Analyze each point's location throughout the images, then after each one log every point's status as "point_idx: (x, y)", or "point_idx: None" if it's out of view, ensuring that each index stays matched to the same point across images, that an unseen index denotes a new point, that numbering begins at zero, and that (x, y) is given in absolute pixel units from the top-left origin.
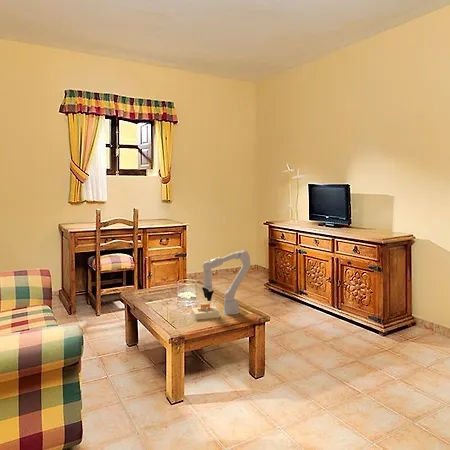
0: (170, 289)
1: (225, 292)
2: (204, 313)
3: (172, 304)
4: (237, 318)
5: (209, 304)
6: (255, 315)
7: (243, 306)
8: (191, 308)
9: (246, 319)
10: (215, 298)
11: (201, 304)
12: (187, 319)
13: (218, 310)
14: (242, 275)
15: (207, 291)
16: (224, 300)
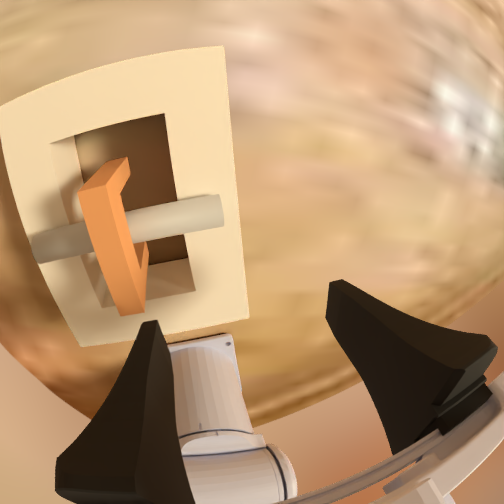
0: None
1: (241, 495)
2: (22, 210)
3: (466, 17)
4: (92, 390)
5: (119, 310)
6: None
7: (295, 406)
8: (221, 46)
9: (86, 414)
10: (460, 283)
11: (105, 199)
12: (63, 27)
13: (103, 342)
14: None
15: (64, 497)
16: (224, 425)
